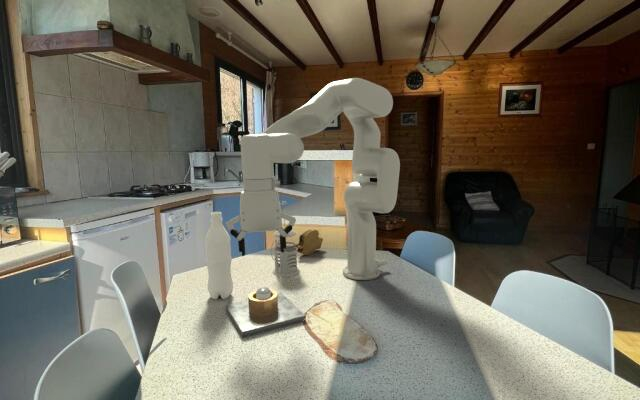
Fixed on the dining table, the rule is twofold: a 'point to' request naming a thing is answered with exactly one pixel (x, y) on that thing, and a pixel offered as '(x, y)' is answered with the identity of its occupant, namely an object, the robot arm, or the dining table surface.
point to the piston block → (260, 324)
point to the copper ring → (263, 304)
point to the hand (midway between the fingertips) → (263, 252)
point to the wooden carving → (309, 242)
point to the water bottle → (218, 258)
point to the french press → (285, 255)
